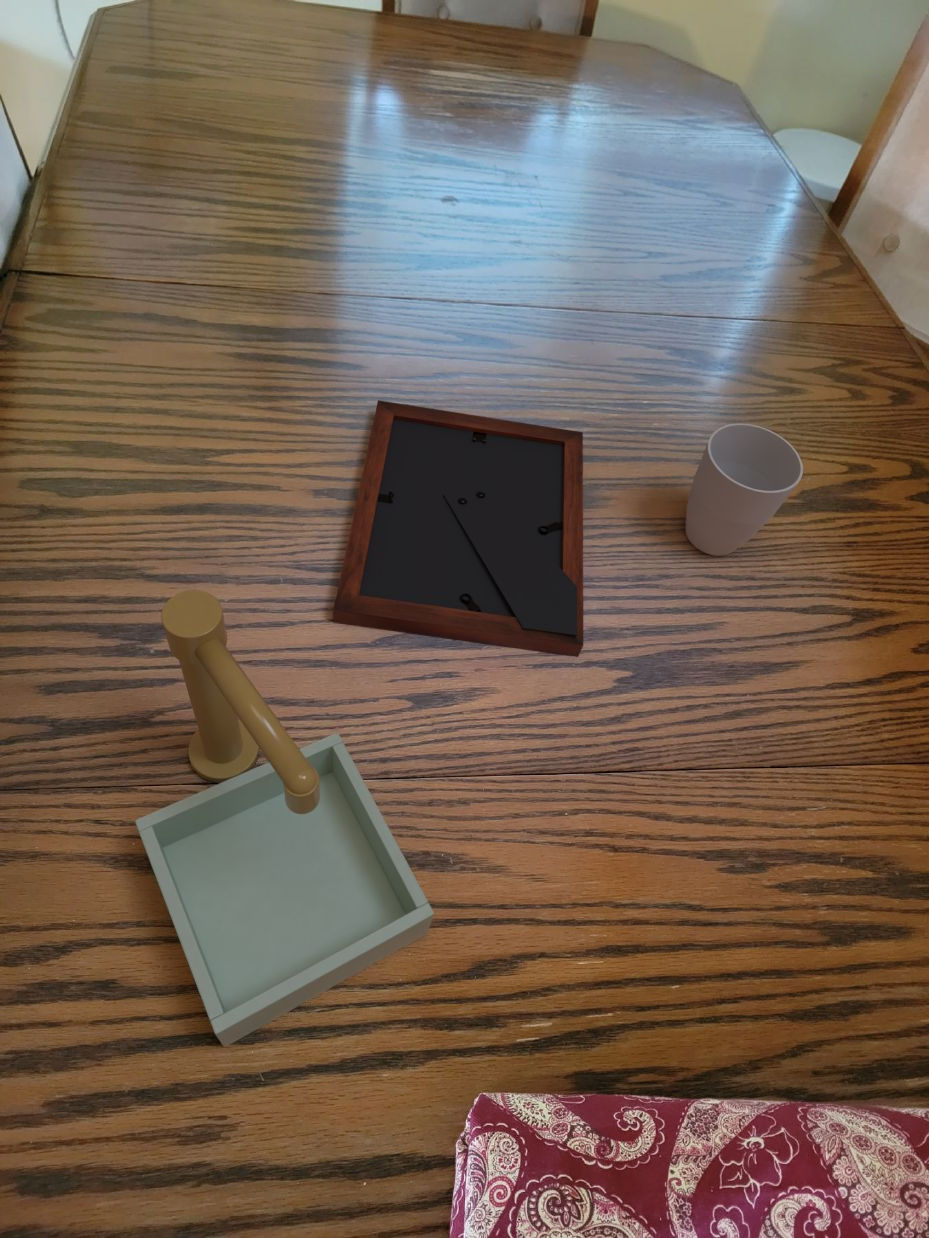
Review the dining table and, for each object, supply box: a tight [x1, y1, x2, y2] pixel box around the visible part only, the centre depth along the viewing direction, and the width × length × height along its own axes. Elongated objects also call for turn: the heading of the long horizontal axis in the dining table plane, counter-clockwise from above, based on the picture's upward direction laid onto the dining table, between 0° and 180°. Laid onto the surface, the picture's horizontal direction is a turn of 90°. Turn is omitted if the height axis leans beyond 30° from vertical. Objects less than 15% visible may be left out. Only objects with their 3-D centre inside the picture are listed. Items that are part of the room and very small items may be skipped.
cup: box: [685, 422, 804, 557], centre depth 74 cm, size 8×8×10 cm
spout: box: [160, 589, 320, 814], centre depth 45 cm, size 14×3×4 cm, turn 38°
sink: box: [134, 731, 435, 1048], centre depth 52 cm, size 14×14×5 cm
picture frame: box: [332, 399, 584, 657], centre depth 74 cm, size 20×2×25 cm
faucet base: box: [178, 660, 260, 784], centre depth 54 cm, size 5×5×14 cm
